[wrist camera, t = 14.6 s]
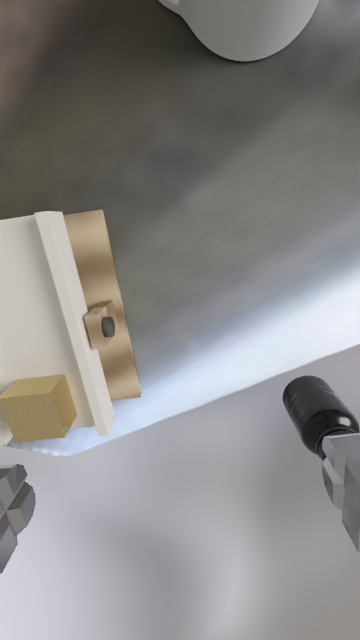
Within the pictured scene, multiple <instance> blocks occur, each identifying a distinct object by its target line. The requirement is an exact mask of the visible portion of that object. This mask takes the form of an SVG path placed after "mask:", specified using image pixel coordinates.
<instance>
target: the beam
mask: <svg viewBox="0 0 360 640" xmlns="http://www.w3.org/2000/svg"><path fill="white" fill-rule="evenodd" d="M87 314H88V310H87V306H86V303H85V299H84V295H83V291H82V287H81V283H80V279H79V275H78V271H77V268H76V264H75V260H74V256H73V252H72V248H71V244H70V240H69V236H68V232H67V229H66V225H65V221H64V217H63V213H62V212H55V211H44V212H37V213H35V215H30V216H24V217H18V218H11V219H5V220H0V396H1V395H2V394H3V393H4V392H5V391H6V390H7V389H8V388H9V387H10V386H11V385H12V384H13V383H15V382H16V381H17V380H18V379H26V378H35V377H43V376H52V375H61V374H65V377H66V380H67V383H68V386H69V390H70V393H71V396H72V399H73V403H74V406H75V409H76V412H77V417H76V418H75V420H74V422H73V424H72V425H71V427H70V428H80V427H90V426H96V430H97V433H98V436H107V435H108V434H109V431H110V428H111V426H112V423H113V420H114V418H115V416H114V412H113V408H112V404H111V400H110V396H109V392H108V388H107V384H106V380H105V377H104V373H103V369H102V365H101V361H100V357H99V353H98V349H95V350H92V346H91V342H90V338H89V334H88V330H87V326H86V323H85V319H84V316H85V315H87ZM12 437H13V435H12V433H11V431H10V428H9V426H8V423H7V421H6V418H5V416H4V414H3V411H2V409H1V406H0V445H7V443H8V442H9V441H10V440H11V438H12Z"/></svg>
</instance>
